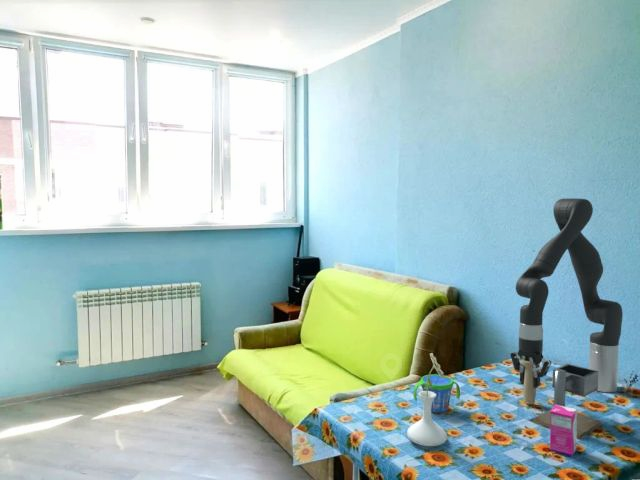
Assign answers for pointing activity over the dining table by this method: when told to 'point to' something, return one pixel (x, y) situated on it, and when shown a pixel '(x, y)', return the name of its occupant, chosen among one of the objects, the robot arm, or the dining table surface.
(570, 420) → the supplement box
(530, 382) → the handle
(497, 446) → the dining table surface
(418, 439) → the flower in vase
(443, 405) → the snack cup
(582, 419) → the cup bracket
